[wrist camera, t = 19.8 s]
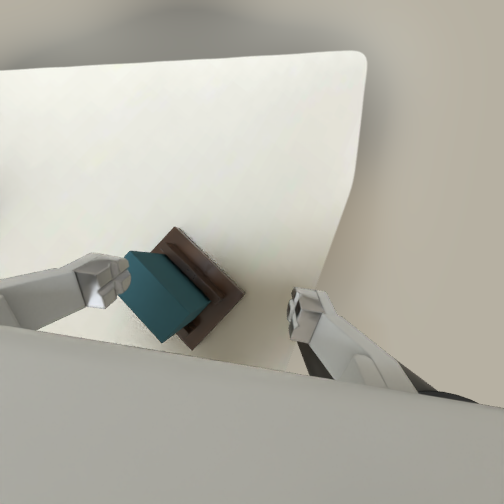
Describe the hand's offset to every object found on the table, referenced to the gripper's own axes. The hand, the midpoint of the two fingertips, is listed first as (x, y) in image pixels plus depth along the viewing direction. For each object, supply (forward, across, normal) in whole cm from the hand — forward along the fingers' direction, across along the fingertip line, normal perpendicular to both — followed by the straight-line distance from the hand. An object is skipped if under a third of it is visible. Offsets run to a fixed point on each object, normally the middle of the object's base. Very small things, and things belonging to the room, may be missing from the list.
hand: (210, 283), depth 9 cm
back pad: (+16, -8, -14) cm, 22 cm away
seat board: (+17, -8, -14) cm, 24 cm away
